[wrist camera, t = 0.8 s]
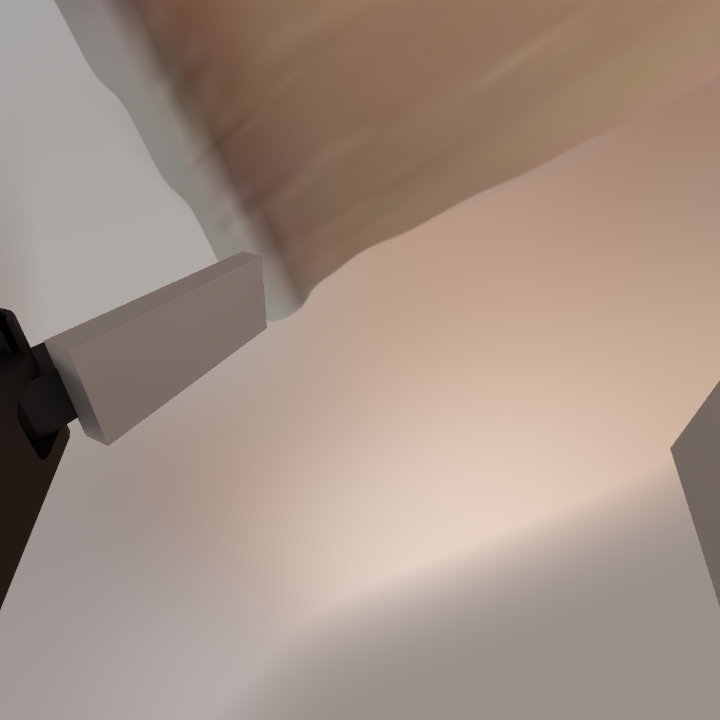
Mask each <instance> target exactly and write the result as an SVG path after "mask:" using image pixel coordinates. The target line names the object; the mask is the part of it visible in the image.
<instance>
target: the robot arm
mask: <svg viewBox="0 0 720 720" xmlns="http://www.w3.org/2000/svg"><path fill="white" fill-rule="evenodd" d="M266 328H267V326H266V312H265V298H264V285H263V271H262V258H261V256H259V255H255V254H250V253H246V252H240V253H238V254H236V255H234V256H231V257H229V258H227V259H225V260H223V261H220V262H218V263H216V264H214V265H211V266H209V267H207V268H205V269H203V270H200V271H198V272H196V273H194V274H191V275H189V276H187V277H185V278H183V279H180V280H178V281H176V282H174V283H171V284H169V285H167V286H165V287H162V288H160V289H158V290H156V291H154V292H151V293H149V294H147V295H145V296H142V297H140V298H138V299H136V300H134V301H132V302H129V303H127V304H125V305H122V306H120V307H118V308H116V309H114V310H111V311H109V312H107V313H105V314H102V315H100V316H98V317H96V318H94V319H91V320H89V321H87V322H85V323H83V324H80V325H78V326H76V327H74V328H71V329H69V330H67V331H65V332H62V333H60V334H58V335H56V336H53V337H51V338H49V339H47V340H45V341H44V342H43V343H41V344H39V345H36V346H34V347H32V348H30V346H29V343H28V341H27V339H26V337H25V335H24V333H23V331H22V329H21V327H20V324H19V323H18V320H17V318H16V316H15V314H14V313H13V312H12V311H10V310H7V309H2V308H0V609H1V606H2V604H3V601H4V599H5V597H6V594H7V592H8V589H9V586H10V584H11V581H12V579H13V577H14V574H15V571H16V569H17V567H18V564H19V562H20V559H21V557H22V554H23V552H24V549H25V546H26V544H27V542H28V539H29V537H30V534H31V532H32V529H33V527H34V524H35V522H36V519H37V517H38V514H39V512H40V510H41V507H42V504H43V502H44V500H45V497H46V495H47V492H48V490H49V487H50V485H51V482H52V480H53V477H54V475H55V472H56V470H57V467H58V464H59V462H60V460H61V457H62V455H63V452H64V450H65V447H66V445H67V442H68V440H69V437H70V436H69V435H70V430H69V428H68V426H67V424H68V423H69V422H71V421H73V420H74V419H76V418H77V417H78V419H79V421H80V424H81V426H82V428H83V430H84V433H85V435H86V436H88V437H90V438H92V439H94V440H97V441H99V442H101V443H103V444H106V445H107V446H109V445H110V444H111V443H113V442H114V441H115V440H117V439H118V438H119V437H121V436H122V435H124V434H125V433H126V432H128V431H129V430H130V429H132V428H133V427H134V426H136V425H137V424H138V423H140V422H141V421H142V420H143V419H145V418H146V417H148V416H149V415H150V414H152V413H153V412H154V411H156V410H157V409H158V408H160V407H161V406H163V405H164V404H165V403H167V402H168V401H169V400H171V399H172V398H173V397H175V396H176V395H177V394H179V393H180V392H181V391H183V390H184V389H185V388H187V387H188V386H189V385H191V384H192V383H193V382H195V381H196V380H197V379H199V378H200V377H202V376H203V375H204V374H206V373H207V372H208V371H210V370H211V369H212V368H214V367H215V366H216V365H218V364H219V363H220V362H222V361H223V360H224V359H226V358H227V357H228V356H230V355H231V354H232V353H233V352H235V351H236V350H238V349H239V348H240V347H242V346H243V345H245V344H246V343H247V342H248V341H250V340H251V339H253V338H254V337H255V336H256V335H258V334H259V333H261V332H262V331H263V330H265V329H266ZM671 452H672V455H673V458H674V461H675V465H676V468H677V471H678V474H679V477H680V481H681V484H682V487H683V490H684V493H685V497H686V500H687V503H688V506H689V510H690V513H691V516H692V519H693V522H694V526H695V529H696V532H697V535H698V538H699V541H700V545H701V548H702V551H703V554H704V557H705V561H706V564H707V567H708V570H709V573H710V576H711V580H712V583H713V586H714V589H715V592H716V596H717V599H718V602H719V605H720V381H719V382H718V384H717V385H716V386H715V388H714V389H713V391H712V392H711V393H710V395H709V396H708V397H707V399H706V400H705V402H704V403H703V404H702V406H701V407H700V408H699V410H698V411H697V413H696V414H695V415H694V417H693V418H692V419H691V421H690V422H689V424H688V425H687V426H686V428H685V429H684V431H683V432H682V433H681V435H680V436H679V438H678V439H677V440H676V441H675V443H674V444H673V446H672V447H671Z"/></svg>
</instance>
